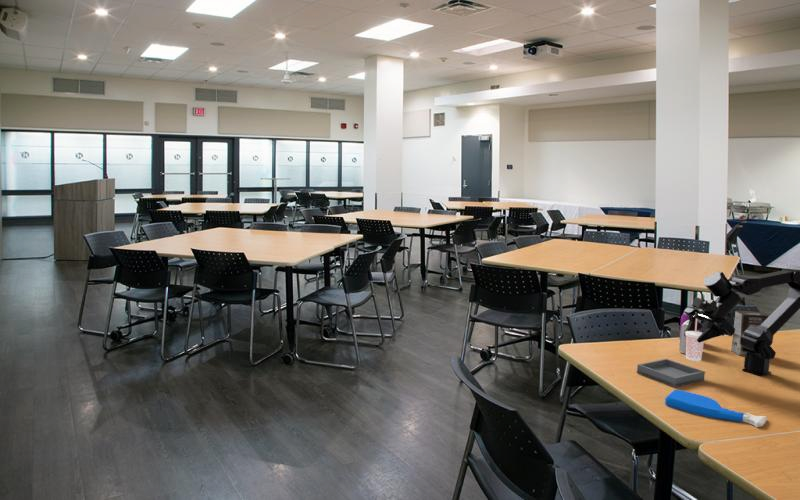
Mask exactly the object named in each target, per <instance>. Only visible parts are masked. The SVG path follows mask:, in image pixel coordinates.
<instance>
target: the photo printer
mask: <svg viewBox="0 0 800 500" xmlns="http://www.w3.org/2000/svg"><path fill="white" fill-rule="evenodd" d="M688 324H689V320H687V321H686V322H684V323H683V325H682V326H681V334H680V333H679V337H680V338H679V349H678V352H680V353H681V354H683V355H684V354H685V355H686V337H685V336H684V334H685V331H686V329H687V326H688ZM698 332H699V330H698Z"/></svg>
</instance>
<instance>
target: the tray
mask: <svg viewBox="0 0 800 500" xmlns="http://www.w3.org/2000/svg"><path fill="white" fill-rule="evenodd" d="M636 367H637V370H636V373H637V374H639V375H641V376H645V377H647V378H650V379H651V380H654V381H658V382H659V383H662V384H665V385H667V386H670V387H673V388H678V387H682V386H687V385H691V384H694V383H698V382H702V381H705V375H706V371H705V370H702V369H698V368H696V367H692V366H690V365H686V364H683V363H681V362H678V361H675V360H671V359H668V358H663V359H658V360H653V361H648V362H643V363H639V364H637V366H636Z"/></svg>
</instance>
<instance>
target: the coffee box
mask: <svg viewBox="0 0 800 500" xmlns="http://www.w3.org/2000/svg"><path fill="white" fill-rule="evenodd" d="M768 317H769V315H768V314H766V313H763V312H760V311H750V310H749V311H748V310H747V311H744V310H735V315H734V322H733V327H734V328H735V333H734V334H733V335H732V341H731V348H730V349H731V351H732V352H733V353H735V354H736V355H737V356H744V357H745V356H746V353H747V352H744V351H743V348H742V345H741V342H740V341H741V339H740V338H741V336H742V335H743V334H742V333H743V332H745V331H746V330H747V328H748V327H749V326H751V325H752V326H754V327H758V326H760V325H761V324H762V323H763V322H764V321H765V320H766V319H767V318H768Z"/></svg>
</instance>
